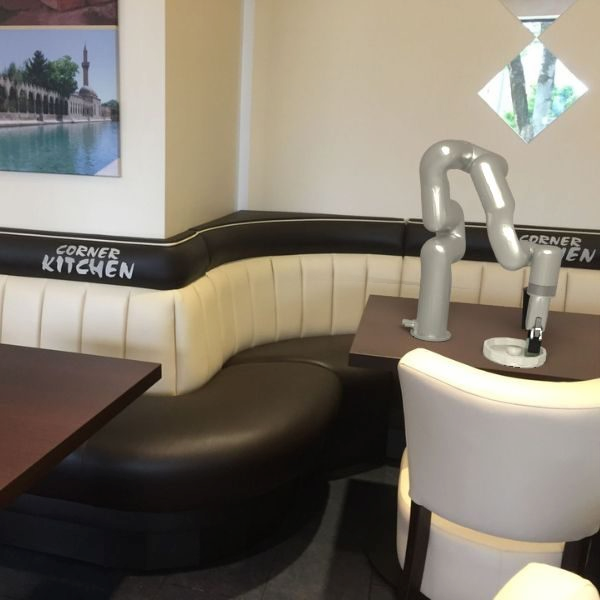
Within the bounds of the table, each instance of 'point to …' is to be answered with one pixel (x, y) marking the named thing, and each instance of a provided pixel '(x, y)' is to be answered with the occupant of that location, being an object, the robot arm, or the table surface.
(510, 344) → the ring tray
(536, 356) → the bead
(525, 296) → the drinking cup
